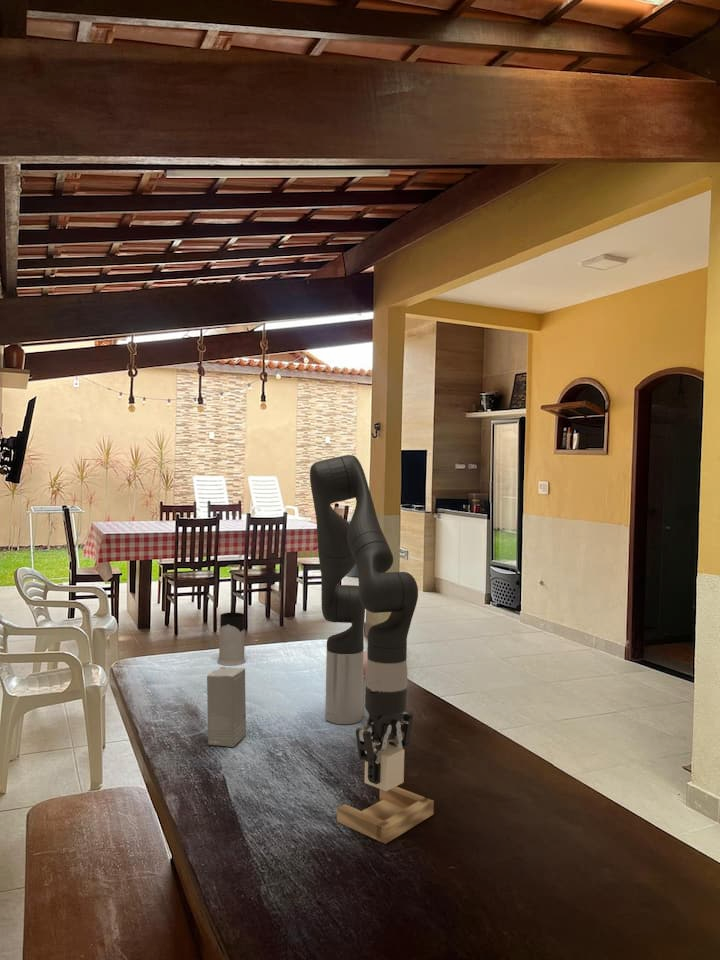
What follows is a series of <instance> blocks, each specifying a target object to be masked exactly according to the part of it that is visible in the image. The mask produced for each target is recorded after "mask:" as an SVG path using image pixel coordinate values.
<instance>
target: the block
mask: <svg viewBox="0 0 720 960" xmlns="http://www.w3.org/2000/svg"><path fill="white" fill-rule="evenodd" d="M380 743H381V742H379V743H378V744H380ZM376 751H377V750H376V748H374V751H373V753H374V755H376ZM365 753H367V752H366V751H365ZM380 763H381V771H380V783H379V784H374V783H371V782H370V781H369V780H368V762H366V761H364V784H366V785H369V786H372V787H374V788H376V789H379V790H380V789H381V790H384V791H388V790H390V789H392V788H394V787H398V786H399V785H402V784H403V783H405V782H404V778H405V776H404V775H405V749H404V748H403V749H402V748H399V747H396V746H393V745H389V744H387V745H386V749H385V750H384V751H383V752H382V755H381V761H380Z"/></svg>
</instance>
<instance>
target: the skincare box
mask: <svg viewBox="0 0 720 960" xmlns="http://www.w3.org/2000/svg"><path fill="white" fill-rule="evenodd" d="M206 681H207V682H206V689H207V691H206V692H207V693H206V695H207V696H206V698H207V700H206V701H207V745H209V746H220V747H221V746H222V747H229V748H230V747H231V748H235V746H237V744H238V743H239V742H241V740H242V739H243V738H245V736H246V735H247V725H246V723H247V719H246V717H247V715H246V714H247V713H246V710H247V709H246V704H247V703H246V668H244V667H223V666H222V667H220V668H218V669H215V670H213V671H212V672H211V673H209V674H208V675H206Z"/></svg>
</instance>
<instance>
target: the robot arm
mask: <svg viewBox="0 0 720 960" xmlns="http://www.w3.org/2000/svg"><path fill="white" fill-rule="evenodd" d="M309 470H310V471H309V482H310V489H311V496H312V501H313V507H314V508H313V509H314V513H315V520H316V522H315V523H316V537H317V538H316V539H317V542H316V543H317V551H318V552H317V553H318V554H317V555H318V561H319V568H320V576H321V577H320V578H321V579H320V580H321V581H320V582H321V583H320V584H321V587H320V588H321V595H320V596H321V597H320V598H321V599H320V600H321V601H320V602H321V612H322V616H323V618H324V620H325V621H327V622H328V623H329V622H330V623H341V624H342V623H343V624H344V623H345V624H351V626H350V627H349V628H347V629H346V630H344V631H342V632H339V633H336V634H332V635H330V636H329V637H328V638H327V640H326V661H325V662H326V663H325V664H326V667H325V703H324V704H325V706H324V708H325V710H324V712H325V713H324V714H325V715H324V718H325V720H326V721H327V722H329V723H333V724H337V725H352V724H356V723H359V722H361V720H362V719H363V718H364V717H365V714H366V713H365V711H367V713H368V719H367V722H366V723H367V724H366V726H365V727H363V728H360V727H357V729H356V730H355V738H356V742H357V743H356V744H357V750H358V757H359V760H361V761H364V762H365V761H366V762H368V780H369V781H370V782H371V783H374V784H379V783H380V771H381V763H380V761H381V755H382V752H383V751H384V750H385V749H386V745H387V744H389V745H393V746H396V747H399V748H402V749H404V748H408V747H409V745H410V738H411V732H412V727H413V726H412V725H413V719H414V715H413V714H412V713H410V712H406V710H407V707H408V705H407V704H408V663H407V657H408V655H407V653H408V651H407V650H408V648H407V647H408V640H407V639H408V635H409V631H410V627H411V624H412V619H413V617H414V613H415V610H416V607H417V603H418V599H419V588H418V584H417V581H416V578H415V577H414V576H413V575H412V574H411V573H410V572H406V571H393V572H391V571H389V570H390V569H391V568H392V566H393V563H394V555H393V552H392V550H391V548H390V545H389V544H388V541H387V539H386V537H385V535H384V533H383V530H382V527H381V526H380V522H379V520H378V515H377V512H376V509H375V504H374V500H373V498H372V495H371V493H372V492H370V491H371V490H370V487H369V484H368V480H367V477H366V474H365V471H364V468H363V465H362V464H361V462H360V460H359V459H358V458H357V456H355V455H353V454H352V455H351V454H347V455H346V454H345V455H340V456H336V457H331V458H327V459H323V460H319V461H316V462H314V463H313V464H312V465H311V466H310V469H309ZM353 499H355V501H356V502H355V507H354V511H353V514H352V516H351V520H350V523H349V521H348V520H346V519H345V518H344V517H342V516H341V515H340V514H339V513H338V512H336V511H335V509H334V508H333V507H332V506H331V505H332V504H335V503H338V502H344V501H347V500H353ZM355 566H356V570H357V579H358V585H351V584H339V583H340V582H341V581H342V580H343V579H344V578H345V577H346V576H347V575H348V574H349V573H350V572H351V571H352V570H353V568H354V567H355ZM388 571H389V572H388ZM366 611H368V612H369V613H373V614H376V613H377V614H380V613H390V615H389V616H388V618H387V619H386V620H385V621H383V622H380V623H376V624H375V625H372V626H371V627H370V628H369V629H368V633H367V649H368V650H367V651H368V653H367V657H368V658H367V665H366V677H365V678H364V675H363V652H365V651H364V650H365V649H364V642H365V641H364V635H365V634H364V632H365V629H364V628H365V619H366ZM402 733H403V734H402ZM403 735H404V736H403ZM375 741H376V742H375ZM377 742H379V743H380V744H379V743H377ZM374 748H376V750H377V751H376V755H374V753H373V751H374ZM365 751H366V752H367V753H365Z"/></svg>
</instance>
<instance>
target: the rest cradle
mask: <svg viewBox="0 0 720 960" xmlns="http://www.w3.org/2000/svg"><path fill="white" fill-rule="evenodd" d="M378 798H379V799H378V800H379V801H377V802H375V803H374V804H372V805H370V806H369V807H367V808H364V809H363V810H360V809H357V808H355V807H352V806H350V805H348V804H345V803H344V804H342V805H340V806H339V807H337V808H336V810H337V811H336V822H337V823H338V824H340V825H343V826H346V827H347V828H350V829H352V830H353V831H356V832H358V833H361V834H363V835H365V836H367V837H369V838H371V839H373V840H376V841H378V842H380V843H382V844H385V845H386V844H388V843H389V842H391V841H393V840H394V839H396V838H398V837H400V836H401V835H403V834H405V833H406V832H408V831H409V830H411V829H413V828H414V827H415V826H417V825H418V824H421V823H422V822H423V821H425V820H426V819H428V818H430V817H431V816H433V815H434V812H435V811H434V806H435V804H434V803H435V800H433V799H430V798H427V797H425V796H423V795H419V794H417V793H414V792H412V791H410V790H409V791H408V790H407V789H403V788H401V787H398V786H396V787H394V788H392V789H390V790H388V791H384V790H381V789H379V797H378Z"/></svg>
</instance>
